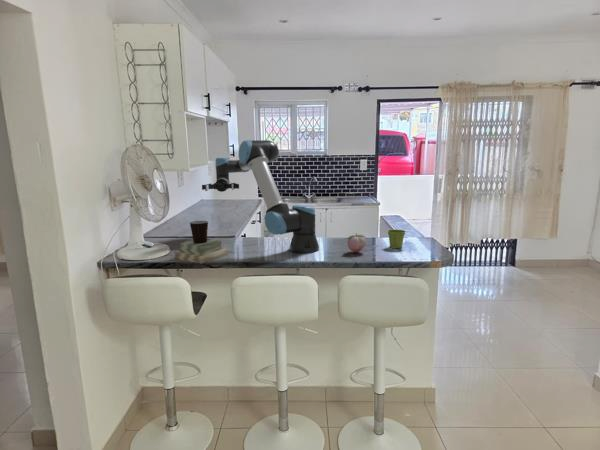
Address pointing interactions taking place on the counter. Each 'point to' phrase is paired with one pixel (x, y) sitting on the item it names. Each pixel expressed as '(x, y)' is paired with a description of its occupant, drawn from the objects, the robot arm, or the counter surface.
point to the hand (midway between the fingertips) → (219, 188)
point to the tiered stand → (200, 251)
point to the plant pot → (396, 238)
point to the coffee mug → (199, 231)
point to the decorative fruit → (356, 243)
